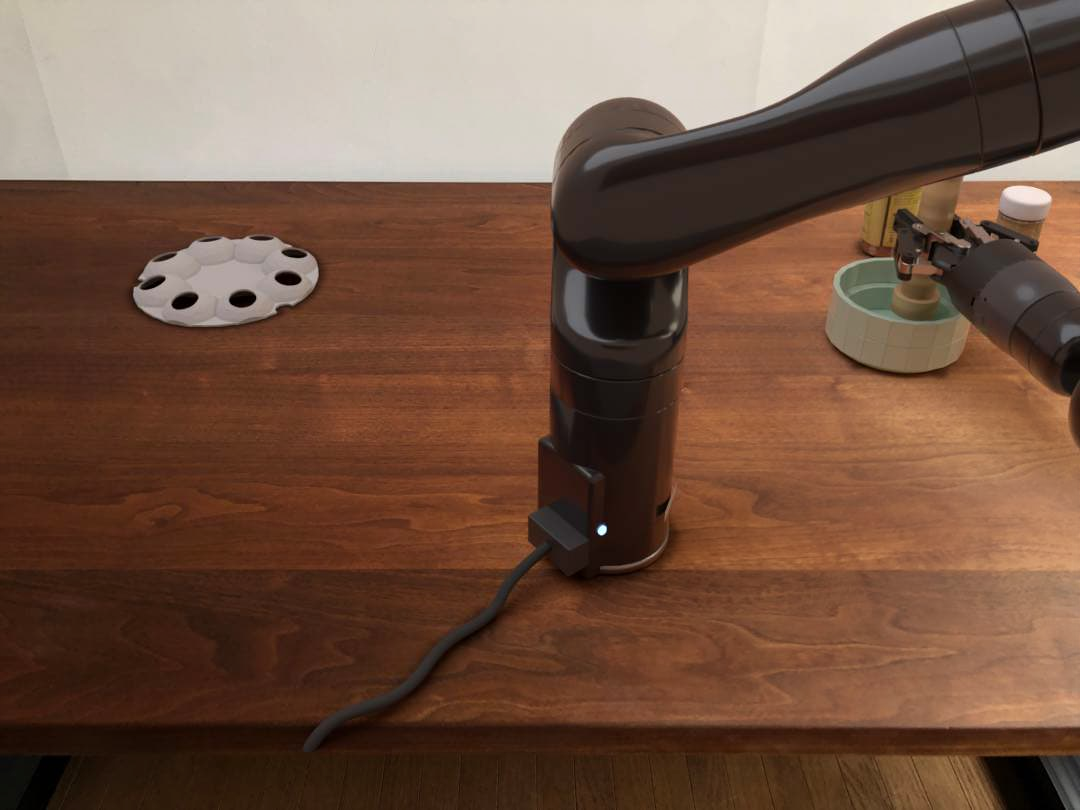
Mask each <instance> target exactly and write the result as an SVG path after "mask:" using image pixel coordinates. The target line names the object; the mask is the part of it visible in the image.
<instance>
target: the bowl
mask: <svg viewBox="0 0 1080 810" xmlns="http://www.w3.org/2000/svg"><path fill="white" fill-rule="evenodd" d="M900 283H902V280H899V279H898V278H897V273H896V268H895V262H894V258H877V257H870V258H865V259H860V260H859V259H858V260H855V261H852V262H850V263H847V264H845V265H843V266H842V267H841V268H840V269H839V270H838V271H837V272H836V273H835V274H834V276H833V282H832V288H831V292H830V296H829V303H828V307H827V313H826V319H825V325H824V331H825V333H826V335H827V338H828V339H829V341H830V343H831V344H832V345H833V346H834V347H836V348H837V349H838V350H839V351H840V352H841V353H843V354H845V356H847V357H848V358H850V359H852V360H854V361H855V362H857V363H859V364H862V365H864V366H866V367H868V368H872V369H875V370H879V371H884V372H890V373H895V374H896V373H897V374H919V373H920V374H921V373H924V372H925V373H926V372H930V371H934V370H937V369H942V368H946V367H947V366H949V365H951V364H952V363H954V362H956V361H958V360H959V358H960V357H961V355H962V353H963V352H964V351H965V347H966V343H967V340H968V336H969V333H970V329H971V325H972V323H971V322H970V321H969V320H968V319H966V318H965V317H964V316H963V315H962V314H961V313H960V312H959V311H958V310H957V309H956V308H955V307H954V305H953V303H952V301H951V299H950V296H949V293H948V291H947V289H946V287H945V286H943V285H941V284H939V283H937V286H936V289H937V290H938V291H939V293H940V295H941V297H940V301H939V305H938V309H937V313H936V316H935V317H934V318H932V319H930V320H926V321H913V320H908V319H904V318H902V317H899V316H897V315H896V314H895V313H893V312H892V310H891V308H890V305H891V300H892V296H893V291H894V288H895V286H896V285H898V284H900Z"/></svg>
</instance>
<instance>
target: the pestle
mask: <svg viewBox="0 0 1080 810" xmlns="http://www.w3.org/2000/svg"><path fill="white" fill-rule="evenodd" d="M964 177H965V176H962V177H958V178H953V179H949V180H945V181H941V182H937V183H934V184H930V185H926V186H924V188H923V192H922V196H921V201H920V205H919V210H918V214H917V218H918V219H919V220H921V221H922V222H923V224H924V225H925V226H927V227H929V228H930V229H932V230H939V229H942V230H943V231H945V232H947V233H948V234H950V230H951V226H952V222H953V218H954V214H956V210H957V207H958V201H959V199H960V198H959V197H960V193H961V189H962V186H963V182H964ZM922 246H925V239H923V244H922ZM936 286H937V283H936V282H934V281H933V280H932V279H931V278H930V276H929V275H924V274H914V275H912V278H911V280H910V281H902V283H900V284H898V285H896V286H895V288H894V291H893V296H892V300H891V305H890V308H891V310H892V312H893V313H895V314H896V315H897V316H899V317H902V318H904V319H908V320H913V321H926V320H930V319H932V318H934V317H935V316H936V313H937V309H938V305H939V301H940V297H941V295H940V293H939V291H938V290H937V289H936Z"/></svg>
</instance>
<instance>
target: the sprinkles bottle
mask: <svg viewBox="0 0 1080 810" xmlns="http://www.w3.org/2000/svg"><path fill="white" fill-rule="evenodd" d="M1052 202H1053V197H1052V196H1051V194H1049V192H1047V191H1045V190H1043V189H1040V188H1037V187H1033V186H1029V185H1012V186H1008V187H1006V188H1004V190H1002V192H1001V196H1000V199H999V203H998V206H997V207H998V210H997V217H996V221H995V223H996V224H999V225H1001V226H1004V227H1006V228H1008V229H1011V230H1013V231H1016V232H1018V233H1020V234H1023V235H1025V236H1028V237H1030V238H1032V239H1035V240H1037V241H1040V236H1041V232H1042V229H1043V225H1044V222H1045V221H1046V219H1047V217H1049V213H1050V210H1051V206H1052ZM991 237H993V238H994V239H995V240H998V239H999V237H998V236H997V235H995V234H993V233H992V234H991Z"/></svg>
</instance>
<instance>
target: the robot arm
mask: <svg viewBox="0 0 1080 810" xmlns="http://www.w3.org/2000/svg"><path fill="white" fill-rule="evenodd" d="M1077 142H1080V0H970V1H967V2H965V3H962V4H958V5H955V6H953V7H949V8H946V9H943V10H941V11H939V12H938V11H937V12H934V13H931V14H929V15H926V16H924V17H921V18H919V19H916V20H914V21H910V23H907V24H905V25H903V26H901V27H899V28H896V29H894V30H893V31H891V32H889V33H887V34H885V35H884V36H882V37H880V38H878V39H877V40H874V41H873V42H872V43H870V44H868V45H867V46H865V47H864V48H862V49H860V50H858V52H856V53H855V54H852V55H851V56H850V57H848V58H846V59H845V60H843V61H842V62H841V63H839V64H838V65H836V66H835V67H833V68H832V69H830V70H829V71H827V72H826V73H824V74H823V75H821V76H820V77H819V78H817V79H815V80H814V81H812V82H811V83H809V84H808V85H806V86H804V87H803V88H802V89H799V90H798V91H796V92H794V93H792V94H790V95H789V96H787V97H785V98H782V99H781V100H779V101H777V102H773V103H771V104H769V105H767V106H764V107H762V108H760V109H757V110H753V111H750V112H748V113H745V114H742V115H740V116H736V117H732V118H727V119H725V120H721V121H717V122H713V123H710V124H706V125H703V126H700V127H696V128H691V129H687V128H686V126H685V125H684V124H683V123H682V121H681V120H680V119H679V118H678V117H677V116H676V115H675V114H674V113H672V112H671V110H668V109H667V108H666V107H665V106H662V105H660V104H659V103H657V102H654V101H652V100H649V99H645V98H642V97H641V98H640V97H634V96H633V97H632V96H623V97H622V96H621V97H615V98H610V99H606V100H604V101H599V102H598V103H596V104H593V105H592V106H591V107H589V108H587V109H586V110H584V111H583V112H582V113H580V114H579V115H578V116H577V117H576V118H575V119H574V120H573V121H572V122H571V123H570V125H569V126H568V128H567V129H566V130H565V132H564V133H563V135H562V137H561V139H560V141H559V144H558V145H557V149H556V152H555V156H554V161H553V173H552V181H551V190H550V191H551V193H550V207H549V208H550V213H549V214H550V215H549V216H550V227H551V234H552V263H551V264H552V265H551V281H550V282H551V283H550V310H549V311H550V315H549V316H550V319H549V322H550V323H549V326H550V327H549V328H550V329H549V330H550V334H549V336H550V337H549V339H550V340H549V343H550V349H549V405H548V406H549V407H548V408H549V410H548V411H549V412H548V415H549V417H548V434H546V435H543V436H542V437H540V438H539V439H538V442H537V510H535V511H533V512H532V513H529V514H528V515H527V542H528V543H530V544H531V545H532V546H533V547H534V548H535V549H534V550H533V551H532V552H530V553H529V555H527V556H526V557H525V558H523V559H522V560H521V562H519V563H518V564H517V566H515V567H514V568H513V569H512V571H511V572H509V574H508V575H507V576H506V578H505V579H504V580H503V581H502V583H501V585H500V587H499V589H498V591H497V593H496V595H495V597H494V599H493V600H492V602H491V603H490V604H489V605H488V606H487V607H486V608H485V609H484V610H483V611H482V612H481V613H479V614H478V615H476V616H475V617H474V618H472V619H470V620H468V621H467V622H465V623H464V624H462V625H461V626H458V627H456V628H455V629H454V630H452V631H451V632H449V633H448V634H446V635H445V636H444V637H443V638H442V639H440V640H439V642H437V643H436V644H435V645H434V646H433V647H432V648H431V649H430V651H429V652H428V653H427V654H426V656H425V657H424V658H423V660H422V661H421V662H420V663H419V665H418V666H417V667H416V668H415V670H414V671H413V672H412V673H411V675H409V676H408V677H407V678H406V679H405V680H404V681H403V682H401V683H400V684H399V685H398V686H396V687H395V688H393V689H391V690H390V691H388V692H386V693H383V694H381V695H378V696H376V697H373V698H369V699H367V700H364V701H360V702H357V703H355V704H351V705H349V706H346V707H343V708H341V709H340V710H339V709H338V711H335V712H334V713H332V714H331V715H329V716H328V717H326V718H325V719H324V720H322V722H320V724H319V725H318V726H317V727H316V728H314V730H313V731H312V732H311V733H310V735H309V736H308V738H307V739H306V741H305V743H304V744H303V747H302V750H303V752H304V753H312V752H315V750H316V749H318V748H319V746H320V744H321V743H322V742H323V741H324V739H325V738H327V736H328V735H329V734H330V733H331V732H333V731H334V730H335V729H336V728H337V727H339V726H341V725H343V724H345V723H347V722H348V721H351V720H354V719H357V718H359V717H362V716H365V715H368V714H371V713H375V712H377V711H380V710H383V709H386V708H388V707H390V706H392V705H394V704H396V703H398V702H400V701H401V700H402V699H404V698H405V697H407V696H408V695H409V694H411V693H412V692H413V691H414V690H415V689H416V688H417V687H418V686H419V685H420V684H421V683H422V682H423V680H424V679H425V678H426V677H427V676H428V675H429V673H430V672H431V670H432V669H433V667H434V666H435V665H436V664H437V662H438V661H439V660H440V659H441V657H443V656H444V655H445V654H446V652H448V651H449V650H450V649H451V648H452V647H453V646H455V645H456V644H457V643H459V642H460V641H462V640H463V639H464V638H467V637H468V636H470V635H472V634H473V633H475V632H477V631H478V630H480V629H482V628H483V627H484V626H486V625H487V624H488V623H489V622H491V621H492V620H493V619H494V618H495V617H496V616H497V615H498V614H499V612H501V610H502V609H503V607H504V605H505V604H506V602H507V600H508V598H509V596H510V594H511V592H512V590H513V589H514V587H516V585H517V584H518V582H519V581H520V580H521V579H522V578H523V577H524V576H525V575H526V574H527V573H528V572H529V571H530V570H531V569H532V568H533V567H534V566H535V565H536V564H538V563H539V562H540V561H541V560H543V558H544V557H546V558H547V560H548V561H550V562H551V563H552V564H553V565H555V566H556V567H557V568H558V569H559V570H560V571H561V572H562V573H563V574H565V575H566V576H567V577H570V576H572V575H574V574H576V573H579V574H580V575H581V576H582V577H583V578H585V579H587V580H591V579H592V578H594V577H596V576H598V575H621V574H627V573H631V572H632V573H633V572H635V571H639V570H641V569H644V568H646V567H647V566H650V565H651V564H653V563H654V562H655V561H657V560H658V559H659V558H660V557H661V555H662V554H663V553H664V552H665V550H666V548H667V545H668V542H669V533H670V525H669V521H670V510H671V506H672V503H673V500H674V499H675V495H676V493H677V483H678V482H677V481H676V482H675V485H674V488H673V478H674V468H675V458H676V450H677V449H676V448H677V437H678V428H679V418H680V417H679V416H680V406H681V396H682V387H683V377H684V368H685V358H686V349H687V340H688V332H689V331H688V329H689V315H690V314H689V309H690V308H689V307H690V306H689V286H690V285H689V281H690V280H689V278H690V267H691V266H695V265H696V264H699V263H701V262H704V261H706V260H709V259H712V258H714V257H716V256H718V255H721V254H723V253H726V252H728V251H731V250H734V249H736V248H739V247H741V246H744V245H746V244H748V243H751V242H754V241H756V240H759V239H760V238H763V237H766V236H768V235H770V234H771V235H772V234H773V233H776V232H779V231H782V230H785V229H787V228H789V227H793V226H795V225H798V224H801V223H803V222H806V221H809V220H813V219H816V218H817V219H818V218H820V217H823V216H827V215H830V214H833V213H838V212H841V211H845V210H846V211H847V210H850V209H852V208H855V207H860V206H862V205H863V206H864V205H865V204H867V203H870V202H873V201H877V200H880V199H883V198H886V197H890V196H893V195H896V194H900V193H903V192H906V191H910V190H913V189H916V188H919V187H923V186H926V185H930V184H934V183H937V182H941V181H945V180H949V179H953V178H958V177H962V176H964V177H965V176H969V175H973V174H976V173H980V172H983V171H987V170H991V169H995V168H997V167H1001V166H1005V165H1008V164H1012V163H1015V162H1018V161H1022V160H1025V159H1028V158H1031V157H1035V156H1039V155H1041V154H1045V153H1047V152H1051V151H1053V150H1057V149H1059V148H1063V147H1066V146H1068V145H1071V144H1075V143H1077ZM892 229H893V231H895V232H896V233H897V239H896V243H895V248H894V250H893V257H894V262H895V268H896V273H897V278H898V279H899V280H902V281H910V280H911V278H912V275H914V274H924V275H929V276H930V278H931V279H932V280H933V281H934V282H936V283H939V284H941V285H943V286H945V287H946V289H947V291H948V293H949V296H950V299H951V301H952V303H953V305H954V307H955V308H956V309H957V310H958V311H959V312H960V313H961V314H962V315H963V316H964V317H965V318H966V319H968V320H969V321H970V322H971V325H973V326H974V327H975V328H976V329H977V330H978V331H979V332H980V333H982V335H983V336H984V337H986V339H988V340H989V341H990V342H991V343H992V344H993V345H994V346H995V347H996V348H997V349H999V350H1000V351H1002V352H1003V353H1005V354H1006V355H1007V356H1009V357H1011V358H1012V359H1014V360H1015V361H1016V362H1017V363H1018V364H1019V365H1020V366H1021V367H1022V368H1023V369H1024V370H1025V371H1027V372H1028V373H1029V374H1030V375H1031V376H1032V377H1033V378H1034V379H1035V380H1037V381H1038V383H1040V384H1041V385H1042V386H1043V387H1045V388H1046V389H1047V390H1048V391H1050V392H1052V393H1054V394H1056V395H1059V396H1062V397H1064V398H1070V400H1069V404H1068V411H1067V423H1068V429H1069V434H1070V437H1071V439H1072V441H1073V443H1074V445H1075V446H1076V448H1077V450H1079V451H1080V291H1079V290H1078V288H1077V287H1076V286H1075V285H1074V284H1073V283H1072V282H1071V281H1070V280H1069V279H1068V278H1067V277H1066V276H1064V275H1063V274H1062V273H1060V272H1059V271H1057V270H1056V269H1055V268H1053V267H1052V266H1051V265H1050V264H1049V263H1047V262H1046V261H1045V260H1043V259H1042V258H1040V256H1038V255H1037V253H1038V249H1039V246H1040V240H1038V241H1037V240H1035V239H1032V238H1030V237H1028V236H1025V235H1023V234H1020V233H1018V232H1016V231H1013V230H1011V229H1008V228H1006V227H1004V226H1001V225H999V224H996V222H994V221H992V220H988V219H982V220H981V221H980V222H979V224H976V223H974V221H972V220H971V219H968V218H962V217H960V216H959V215H958V214H956V213H955V214H954V218H953V222H952V226H951V230H950V234H948V233H947V232H945V231H943V230H942V229H939V230H932V229H930V228H929V227H927V226H925V225H924V224H923V222H922V221H921V220H919V219H918V218H917V217H916V216H915V215H914V214H912V213H911V212H910V211H909V210H908V209H906V208H903V209H898V210H897V213H896V214H895V217H894V221H893V226H892ZM993 234H995V235H997V236H998V237H999V239H998V240H995V239H994V238H993V237H992V235H993ZM923 239H925V246H922V244H923Z"/></svg>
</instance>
